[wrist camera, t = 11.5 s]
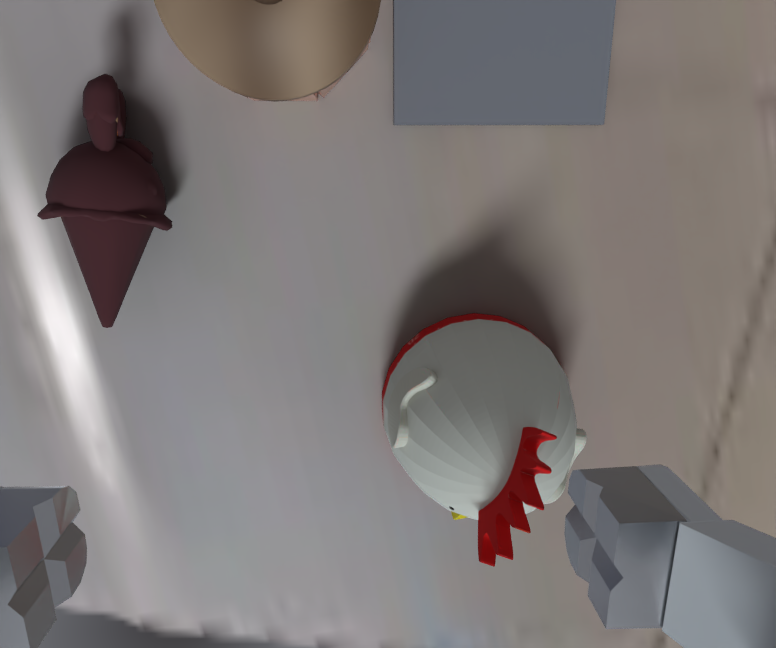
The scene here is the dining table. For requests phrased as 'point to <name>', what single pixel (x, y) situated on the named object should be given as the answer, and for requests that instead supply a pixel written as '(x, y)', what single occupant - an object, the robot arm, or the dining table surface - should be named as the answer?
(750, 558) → the robot arm
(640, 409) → the dining table surface
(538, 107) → the mat
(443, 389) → the kitchen timer
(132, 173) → the icecream
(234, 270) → the dining table surface
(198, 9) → the lid
